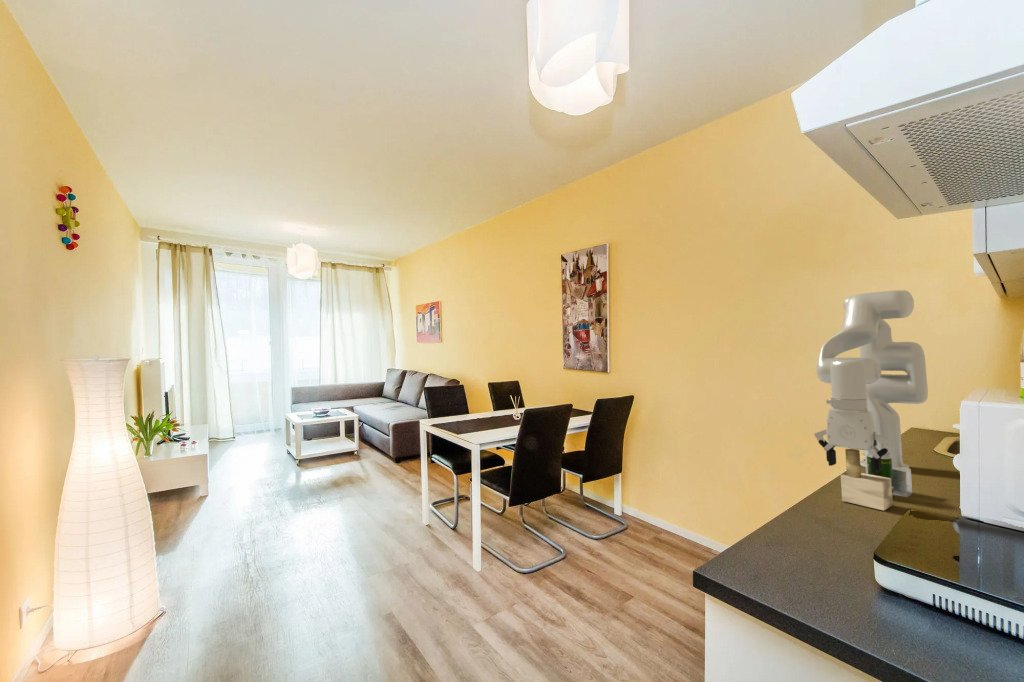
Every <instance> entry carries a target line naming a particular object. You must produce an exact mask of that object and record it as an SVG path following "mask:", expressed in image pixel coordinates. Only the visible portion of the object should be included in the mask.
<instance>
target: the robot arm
mask: <svg viewBox="0 0 1024 682" xmlns="http://www.w3.org/2000/svg"><path fill="white" fill-rule="evenodd" d="M913 297H914V296H913V295H912V293H910V291H908V290H906V289H902V290H895V289H893V290H886V291H885V290H884V291H876V292H875V291H874V292H865V293H864V292H863V293H858V294H854V295H852V296H851V295H850V296H848V297H846V298H845V299H844V300H843V310H844V311H843V313H844V314H843V319H842V324H841V330H840V331H839V332H837V333H835V334H834V335H833V336H831V337H830V338H829V339H828V340H826V341H825V342H824V343H823V345H822V346H821V347H820V349H819V354H818V358H817V364H816V375H817V378H818V379H819V381H821V382H822V383H824V384H825V383H826V384H830V386H831V389H830V390H831V398H829V399H826V401H825V402H826V405H830V407H831V408H829V409H828V412H827V419H826V429H823V430H820V431H818V432H814V433H813V435H814V437H815V438H816V440H817V441H818V444H819V445H820V446H821V447H822V448H823V449H824V451H825V452H826V453H825V455H826V461H827V462H828V466H829V467H832V466H834V465H836V464H837V453H836V452H837V451H836V450H835V449H834V448H835V447H837V448H839V447H840V448H845V449H856V450H859V451H861V450H862V451H861V453H860V454H861V455H862V456H864V459H860V467H861V466H862V468H863V467H864V468H866V465H867V454H868V453H867V452H869V453H870V454H871V455H872V456H873V458H871V469H872V473H875V474H876V473H878V472H879V471H880V470H881V469H882V465H881V457H882V456H883V455H885V454H886V453H890V456H891V458H892V466H895V467H902V468H908V469H910V466H909V465H908V464H906V463H904V462H903V449H902V448H903V447H902V446H903V445H902V434H901V433H902V431H901V430H902V429H901V418H900V415H899V413H898V412H897V411H896V409H894V408H893V407H892V406H891V405H890V404H909V405H910V404H912V405H918V404H919V405H920V404H923V403H925V402H926V401H927V400H928V396H929V395H928V394H929V390H928V389H929V388H928V379H927V377H928V376H927V367H926V365H927V364H926V356H925V352H924V348H923V347H922V346H921V344H919V343H918V342H914V341H893V337H892V328H891V326H890V325H889V324H888V322H886V321H885V320H891V319H904V318H906V317H907V318H908V317H909V316H910V315H911V314H912V313H913V311H914V307H915V300H914V298H913ZM857 348H858V349H859V354H860V357H837V356H840V354H843V353H846V352H847V351H851V350H854V349H857ZM883 371H885V372H887V371H889V372H897V371H898V372H905V373H906V374H891V373H890V374H888V373H887V374H886V373H884V374H882V372H883ZM824 436H826V439H824ZM864 460H865V461H864Z"/></svg>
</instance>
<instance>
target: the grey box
mask: <svg viewBox="0 0 1024 682" xmlns="http://www.w3.org/2000/svg"><path fill="white" fill-rule="evenodd" d="M892 473H893V488H894V496H901V497H906V498H908V497H910V496H912V495H913V484H912V469H911V468H909V469H908V468H902V467H895V466H892ZM865 474H868V471H867V465H866V467H865Z"/></svg>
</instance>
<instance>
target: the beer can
mask: <svg viewBox="0 0 1024 682" xmlns="http://www.w3.org/2000/svg"><path fill="white" fill-rule="evenodd" d="M867 453H868V454H867V471H868V474H869V475H875V476H881V477H886V478H891V486H892V499H893V498H894V496H895V494H894V488H893V473H892V458H891V456H890V453H886V454H885V455H883V456H882V457H881V465H882V469H881V470H880V471H879V472H878V473H876V474H875V473H872V469H871V458H873V456H872V455H871V454H870V453H869V452H867Z"/></svg>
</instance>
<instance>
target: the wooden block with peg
mask: <svg viewBox="0 0 1024 682" xmlns="http://www.w3.org/2000/svg"><path fill="white" fill-rule="evenodd" d="M860 451H861V450H858V449H851V448H845V451H844V453H845V465H846V469H845V470H846V472H845V473H842V474H840V487H841V501H842V502H845V503H850V504H854V505H859V506H862V507H865V508H866V507H867V508H871V509H875V510H880V511H886V510H887V509H889V508H890V507H892V506H893V505H894V504H893V503H894V502H893V498H892V486H891V478H886V477H881V476H875V475H869V474H866V473H864V472H863V473H862V472H861V471H862V470H861V465H860V461H861V455H860V454H861V453H860Z"/></svg>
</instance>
